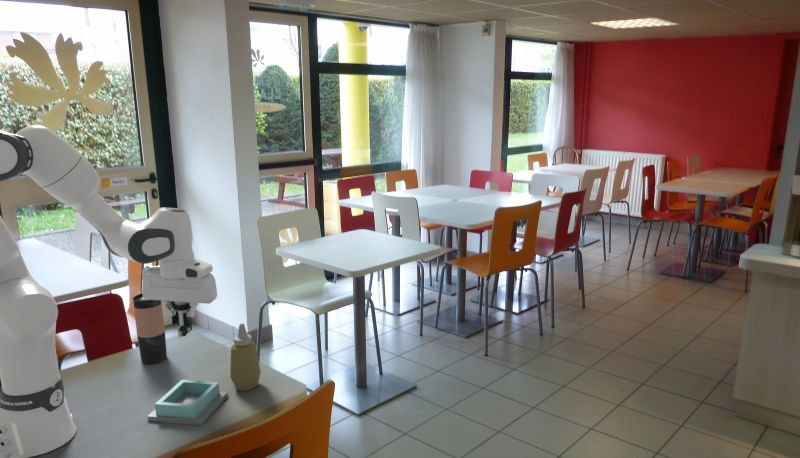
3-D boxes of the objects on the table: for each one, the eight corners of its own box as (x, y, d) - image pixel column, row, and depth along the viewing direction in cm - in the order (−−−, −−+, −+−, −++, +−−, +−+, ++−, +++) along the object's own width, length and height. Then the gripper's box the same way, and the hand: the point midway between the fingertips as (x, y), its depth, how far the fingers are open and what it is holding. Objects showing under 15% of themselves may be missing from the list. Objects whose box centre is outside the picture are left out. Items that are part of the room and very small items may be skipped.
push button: (189, 339, 155) (185, 304, 152) (169, 339, 155) (165, 304, 152) (197, 329, 161) (194, 295, 159) (178, 329, 161) (175, 295, 159)
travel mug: (172, 353, 177) (165, 292, 172) (159, 365, 170) (152, 301, 165) (148, 353, 178) (141, 291, 173) (135, 364, 170) (127, 300, 166)
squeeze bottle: (243, 396, 152) (238, 333, 147) (224, 387, 156) (219, 325, 152) (267, 384, 158) (263, 323, 154) (248, 376, 163) (244, 316, 158)
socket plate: (148, 420, 141) (146, 405, 140) (178, 391, 154) (177, 377, 153) (201, 425, 139) (199, 409, 138) (227, 396, 152) (226, 381, 151)
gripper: (134, 268, 152) (139, 317, 155) (206, 272, 149) (210, 322, 152) (148, 262, 158) (153, 309, 161) (218, 265, 155) (221, 314, 158)
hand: (181, 316), depth 157 cm, fingers closed on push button, 4 cm apart
